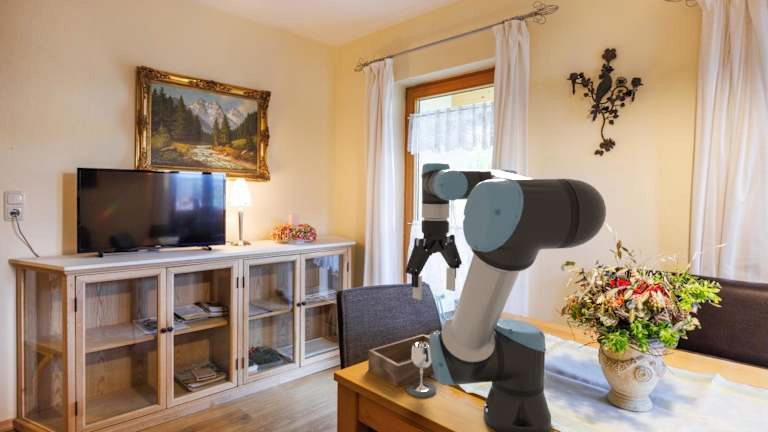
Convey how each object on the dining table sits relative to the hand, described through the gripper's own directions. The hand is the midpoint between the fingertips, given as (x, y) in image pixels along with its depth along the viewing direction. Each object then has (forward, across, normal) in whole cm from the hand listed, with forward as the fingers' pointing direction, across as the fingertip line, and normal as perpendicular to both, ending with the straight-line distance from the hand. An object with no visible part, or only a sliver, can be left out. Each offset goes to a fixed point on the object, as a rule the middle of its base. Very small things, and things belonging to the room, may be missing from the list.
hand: (434, 294), depth 122 cm
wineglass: (+24, +8, +3) cm, 25 cm away
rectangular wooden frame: (+24, 0, -9) cm, 26 cm away
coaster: (+24, +8, +3) cm, 26 cm away
